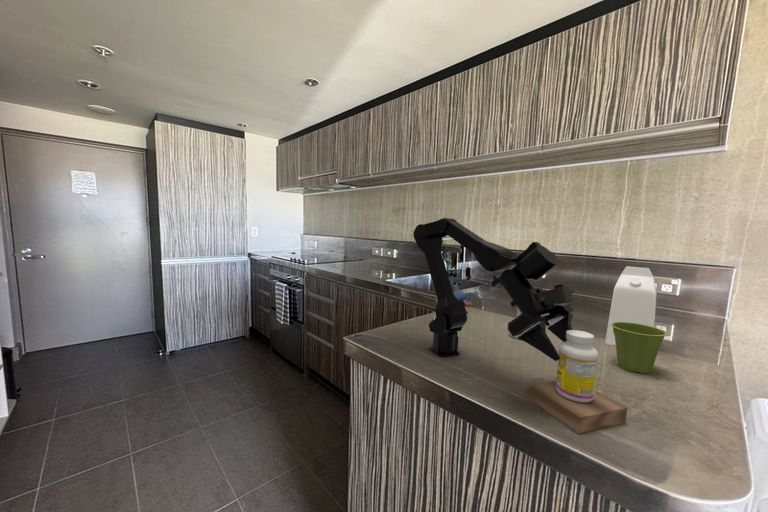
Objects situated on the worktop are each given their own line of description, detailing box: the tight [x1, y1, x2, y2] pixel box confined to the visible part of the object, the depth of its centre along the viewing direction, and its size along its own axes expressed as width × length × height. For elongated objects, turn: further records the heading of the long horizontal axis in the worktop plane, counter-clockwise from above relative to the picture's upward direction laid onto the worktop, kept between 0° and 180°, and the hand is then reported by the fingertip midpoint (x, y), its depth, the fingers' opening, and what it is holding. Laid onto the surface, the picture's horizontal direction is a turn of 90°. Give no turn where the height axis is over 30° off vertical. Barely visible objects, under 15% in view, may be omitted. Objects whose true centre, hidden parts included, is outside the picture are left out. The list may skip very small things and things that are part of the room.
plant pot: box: [611, 322, 668, 374], centre depth 83 cm, size 12×12×11 cm
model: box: [452, 284, 474, 307], centre depth 150 cm, size 12×9×9 cm
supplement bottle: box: [555, 329, 599, 403], centre depth 62 cm, size 7×7×13 cm
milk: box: [604, 265, 657, 346], centre depth 102 cm, size 12×12×26 cm
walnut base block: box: [527, 380, 628, 434], centre depth 62 cm, size 12×12×3 cm
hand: (568, 355), depth 63 cm, fingers open, 9 cm apart
